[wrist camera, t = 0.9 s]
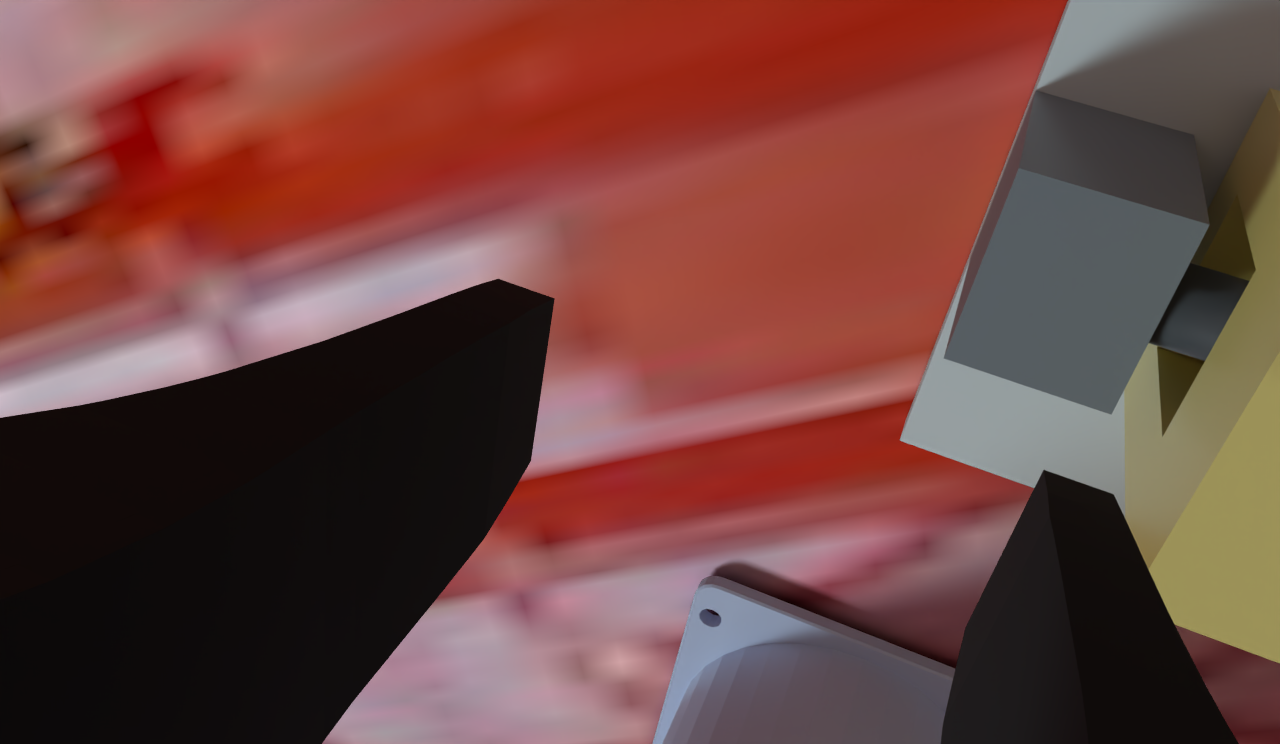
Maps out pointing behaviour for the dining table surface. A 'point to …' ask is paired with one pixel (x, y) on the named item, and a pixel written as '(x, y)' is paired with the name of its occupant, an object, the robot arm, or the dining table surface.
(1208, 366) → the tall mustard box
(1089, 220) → the grey board with rod
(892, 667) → the robot arm
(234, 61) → the dining table surface
